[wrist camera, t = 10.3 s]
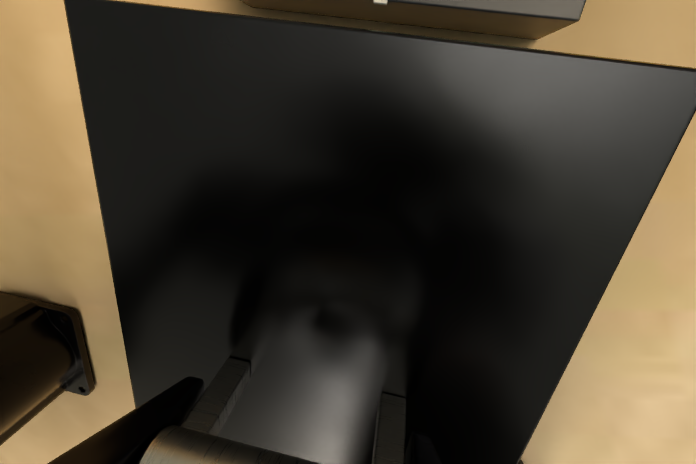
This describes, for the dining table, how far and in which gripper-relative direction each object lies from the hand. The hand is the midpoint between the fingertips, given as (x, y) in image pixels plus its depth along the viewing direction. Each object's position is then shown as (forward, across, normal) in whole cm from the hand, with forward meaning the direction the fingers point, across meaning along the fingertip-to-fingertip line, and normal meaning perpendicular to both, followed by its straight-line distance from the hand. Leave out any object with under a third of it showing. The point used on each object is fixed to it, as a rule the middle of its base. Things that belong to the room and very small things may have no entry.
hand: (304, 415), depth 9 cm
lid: (+2, 0, -3) cm, 3 cm away
